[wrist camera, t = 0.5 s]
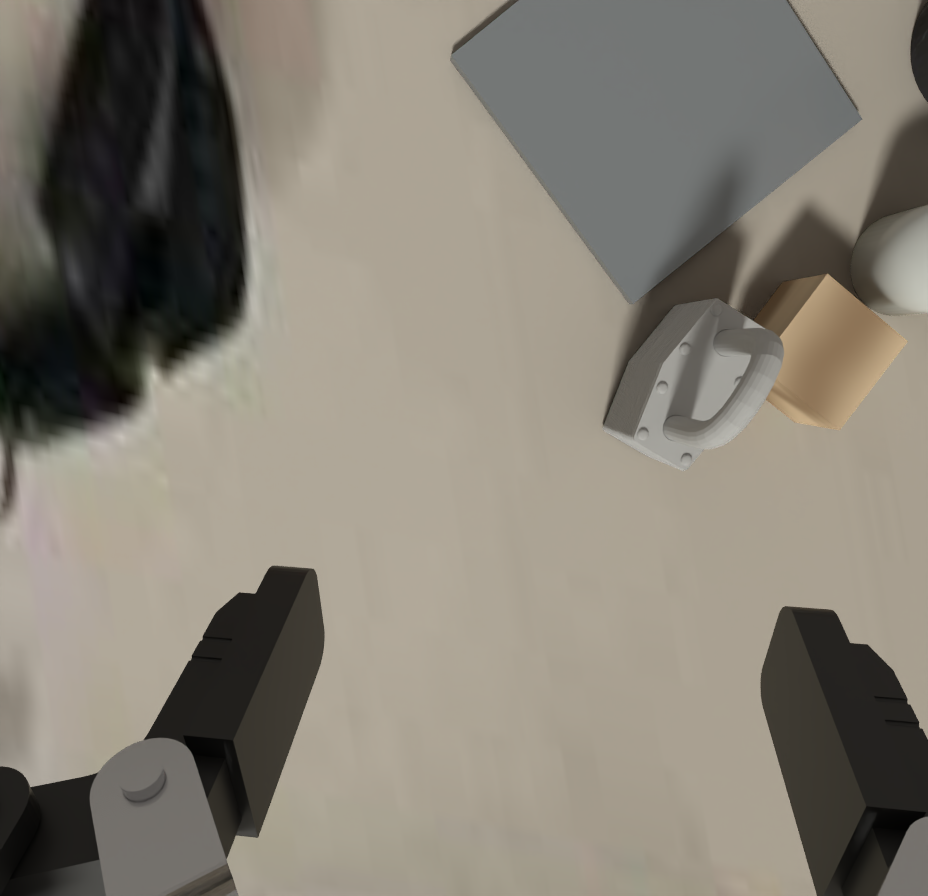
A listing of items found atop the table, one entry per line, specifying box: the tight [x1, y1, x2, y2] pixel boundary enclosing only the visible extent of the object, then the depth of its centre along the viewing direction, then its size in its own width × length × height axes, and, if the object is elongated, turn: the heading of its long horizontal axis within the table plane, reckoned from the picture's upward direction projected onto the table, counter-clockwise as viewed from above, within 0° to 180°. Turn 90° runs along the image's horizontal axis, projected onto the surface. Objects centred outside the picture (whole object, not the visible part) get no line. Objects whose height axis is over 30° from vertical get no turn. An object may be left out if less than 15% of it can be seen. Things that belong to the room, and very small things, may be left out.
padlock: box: [603, 298, 784, 471], centre depth 31 cm, size 7×4×10 cm, turn 150°
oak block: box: [753, 274, 908, 430], centre depth 35 cm, size 5×5×4 cm
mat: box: [451, 0, 862, 304], centre depth 34 cm, size 14×14×1 cm
